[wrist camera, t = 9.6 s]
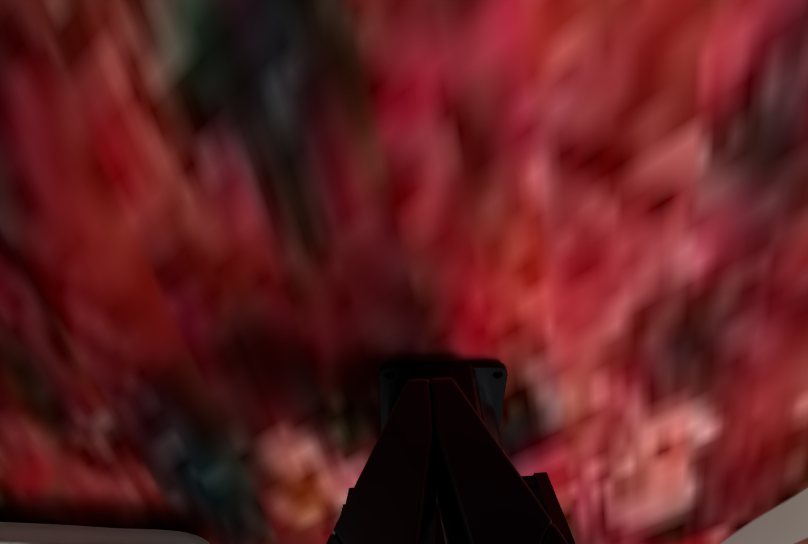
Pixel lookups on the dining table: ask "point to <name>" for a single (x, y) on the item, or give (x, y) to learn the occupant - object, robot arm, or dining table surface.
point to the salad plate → (89, 535)
